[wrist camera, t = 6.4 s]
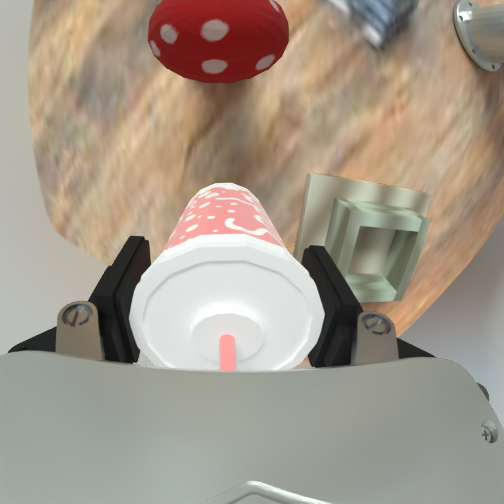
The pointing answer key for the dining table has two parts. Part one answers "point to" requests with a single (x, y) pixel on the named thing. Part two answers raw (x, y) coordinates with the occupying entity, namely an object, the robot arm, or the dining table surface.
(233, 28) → the decorative mushroom
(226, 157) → the dining table surface
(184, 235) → the beverage cup
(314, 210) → the cup holder
